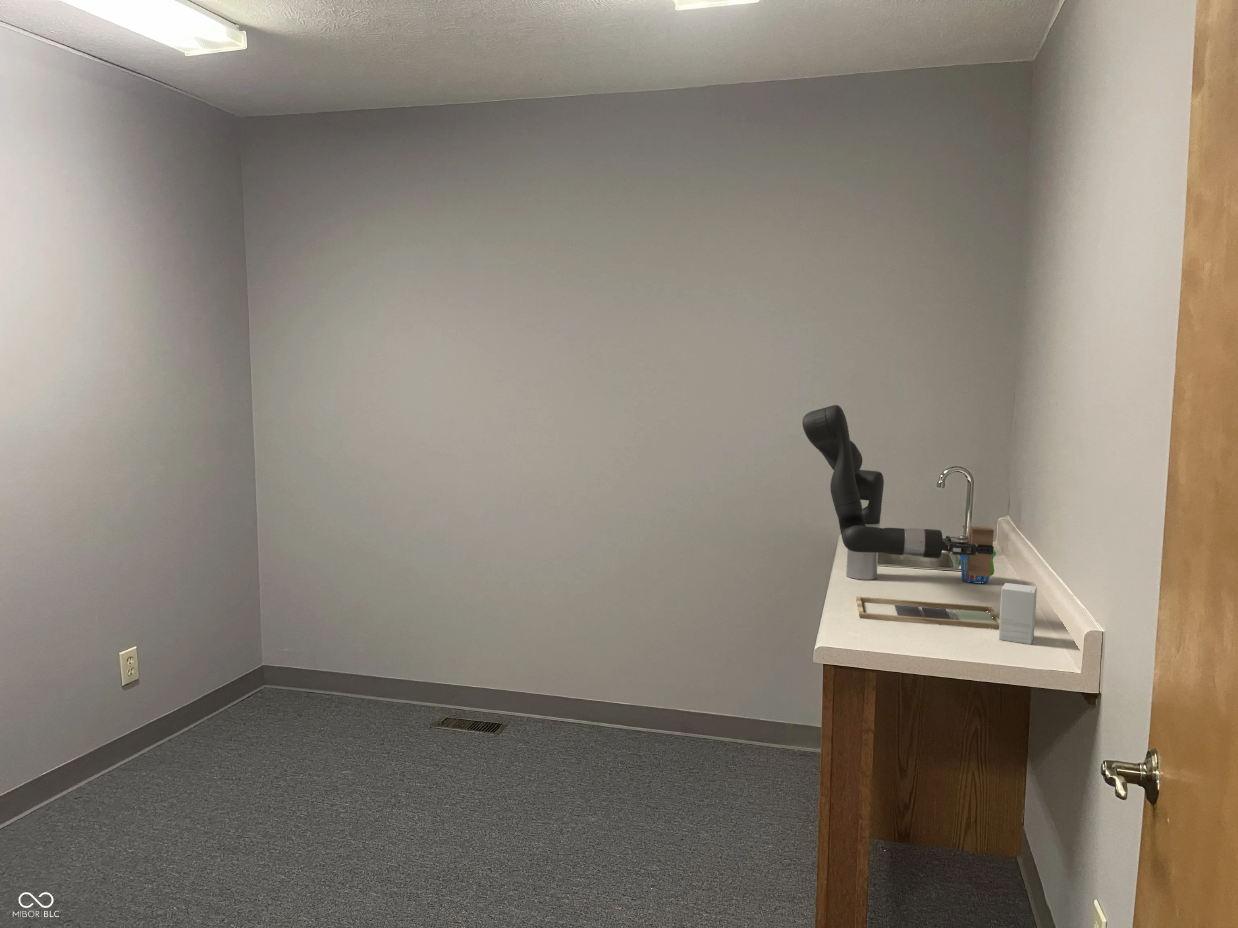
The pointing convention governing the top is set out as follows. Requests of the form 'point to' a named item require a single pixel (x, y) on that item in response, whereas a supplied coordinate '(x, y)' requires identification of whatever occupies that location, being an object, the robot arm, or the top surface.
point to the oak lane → (927, 620)
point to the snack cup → (974, 578)
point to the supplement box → (1017, 613)
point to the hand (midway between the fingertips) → (990, 547)
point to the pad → (974, 616)
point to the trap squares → (928, 612)
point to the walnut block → (980, 562)
